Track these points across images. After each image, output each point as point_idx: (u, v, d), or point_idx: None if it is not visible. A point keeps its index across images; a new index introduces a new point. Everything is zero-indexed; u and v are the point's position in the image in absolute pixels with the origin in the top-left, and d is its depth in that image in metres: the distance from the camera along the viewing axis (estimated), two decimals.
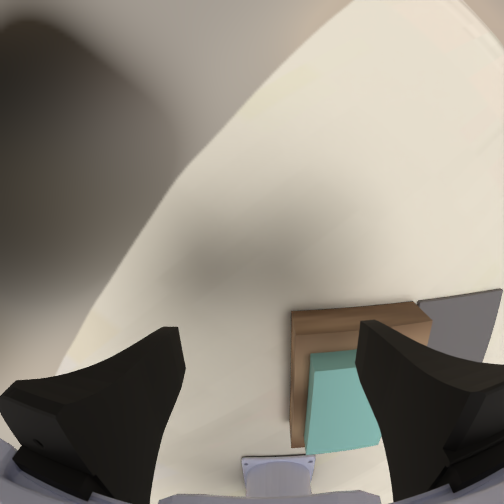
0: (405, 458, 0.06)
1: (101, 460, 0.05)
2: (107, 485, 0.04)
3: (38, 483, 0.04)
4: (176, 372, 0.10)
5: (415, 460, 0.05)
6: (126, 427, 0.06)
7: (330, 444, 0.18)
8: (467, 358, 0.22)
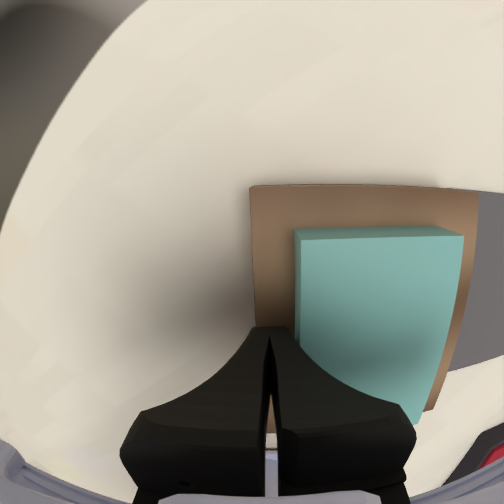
0: (278, 477, 0.06)
1: (261, 482, 0.04)
2: None
3: None
4: (270, 374, 0.10)
5: None
6: (263, 439, 0.06)
7: None
8: None
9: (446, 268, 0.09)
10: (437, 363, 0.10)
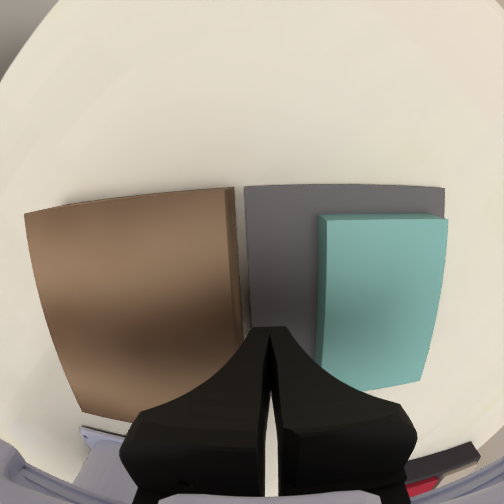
0: (278, 477, 0.06)
1: (260, 482, 0.04)
2: None
3: None
4: (270, 374, 0.10)
5: (280, 483, 0.05)
6: (263, 439, 0.06)
7: None
8: None
9: None
10: None
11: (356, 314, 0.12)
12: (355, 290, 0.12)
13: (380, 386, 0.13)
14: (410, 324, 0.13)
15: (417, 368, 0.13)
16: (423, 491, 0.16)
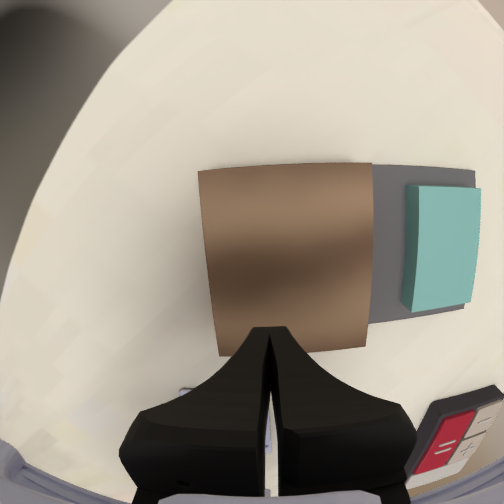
0: (278, 477, 0.06)
1: (260, 482, 0.04)
2: None
3: None
4: (270, 374, 0.10)
5: (280, 482, 0.05)
6: (263, 439, 0.06)
7: None
8: None
9: None
10: (406, 256, 0.20)
11: (434, 247, 0.18)
12: (434, 231, 0.17)
13: (447, 304, 0.19)
14: (463, 257, 0.18)
15: (468, 291, 0.18)
16: (464, 424, 0.21)
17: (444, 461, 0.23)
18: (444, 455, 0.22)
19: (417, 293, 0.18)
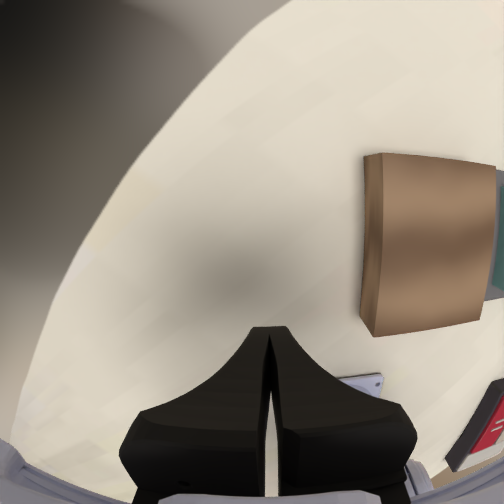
0: (278, 477, 0.06)
1: (260, 482, 0.04)
2: None
3: None
4: (270, 374, 0.10)
5: (280, 483, 0.05)
6: (263, 439, 0.06)
7: None
8: None
9: None
10: (498, 245, 0.19)
11: None
12: None
13: None
14: None
15: None
16: None
17: (494, 440, 0.22)
18: (496, 434, 0.22)
19: None
